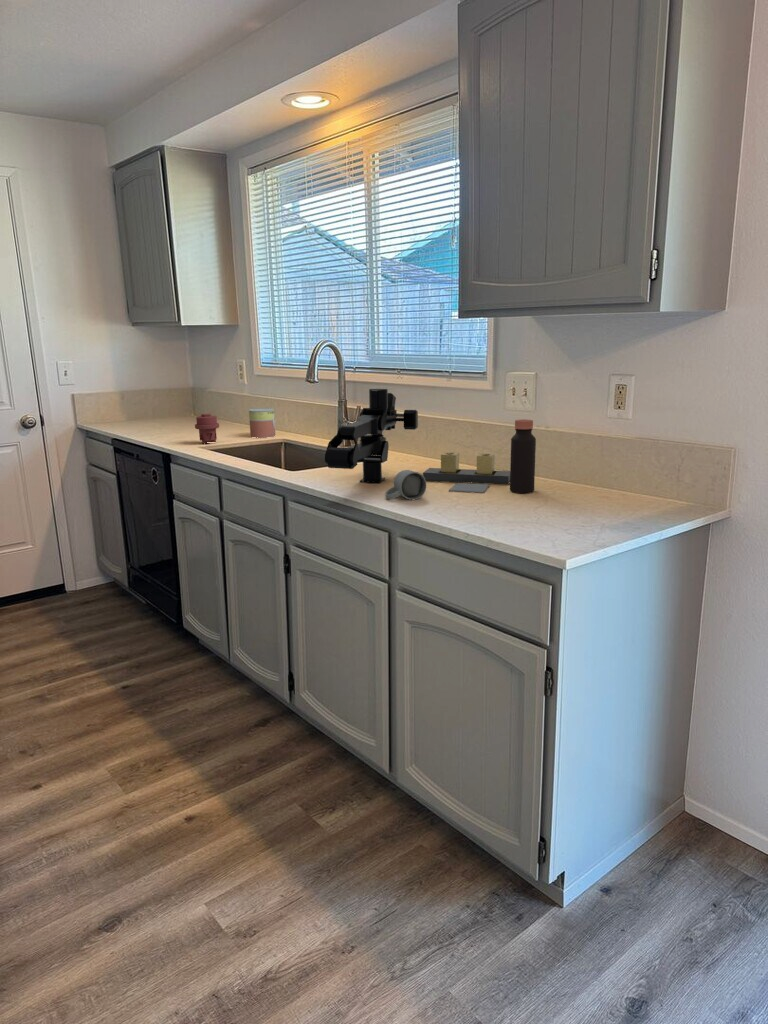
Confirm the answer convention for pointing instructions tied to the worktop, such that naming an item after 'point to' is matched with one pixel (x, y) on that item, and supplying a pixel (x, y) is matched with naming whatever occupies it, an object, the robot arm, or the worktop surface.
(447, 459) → the khaki square post block
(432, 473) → the rack rail
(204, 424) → the mechanical component
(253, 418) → the canned food
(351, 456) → the robot arm
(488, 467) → the olive beige rectangular block
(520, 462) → the bottle
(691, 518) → the worktop surface
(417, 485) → the ceramic mug
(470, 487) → the grey pad
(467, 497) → the worktop surface
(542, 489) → the worktop surface
